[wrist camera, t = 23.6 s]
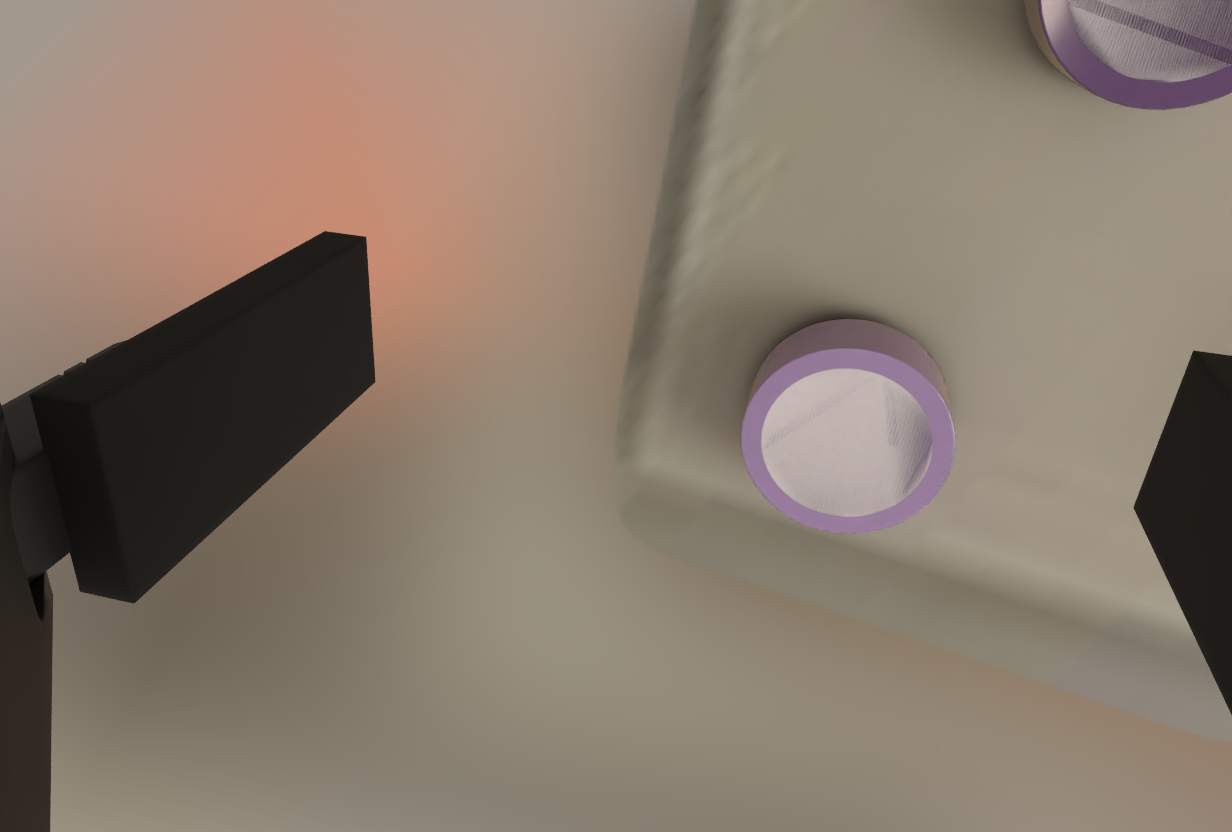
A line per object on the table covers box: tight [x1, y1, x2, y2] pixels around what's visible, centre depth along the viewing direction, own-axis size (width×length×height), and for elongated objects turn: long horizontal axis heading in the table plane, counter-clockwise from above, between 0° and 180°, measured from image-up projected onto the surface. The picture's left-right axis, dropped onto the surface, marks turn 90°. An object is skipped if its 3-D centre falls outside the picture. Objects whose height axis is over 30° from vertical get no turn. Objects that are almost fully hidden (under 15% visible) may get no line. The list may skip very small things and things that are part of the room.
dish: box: [741, 319, 955, 534], centre depth 38 cm, size 8×8×4 cm
